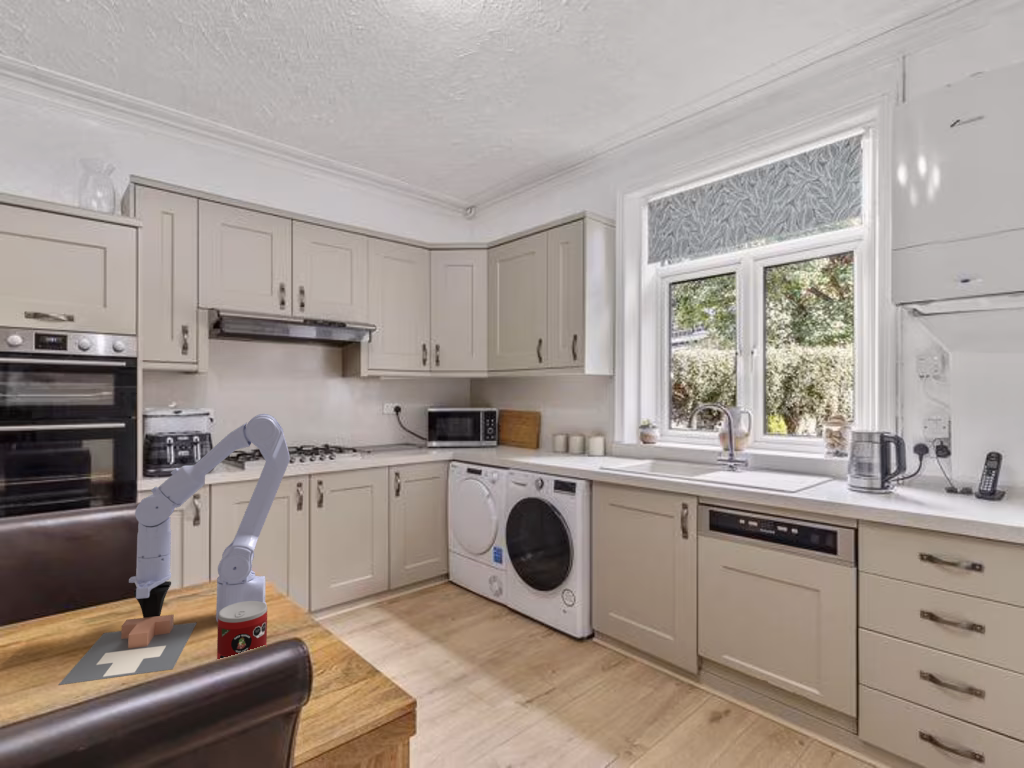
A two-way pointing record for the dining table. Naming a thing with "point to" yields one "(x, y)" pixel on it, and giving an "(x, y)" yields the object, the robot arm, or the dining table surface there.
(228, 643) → the canned food
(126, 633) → the t block
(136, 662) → the board
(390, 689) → the dining table surface
